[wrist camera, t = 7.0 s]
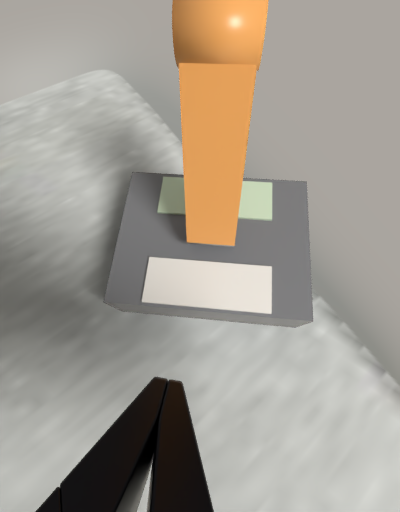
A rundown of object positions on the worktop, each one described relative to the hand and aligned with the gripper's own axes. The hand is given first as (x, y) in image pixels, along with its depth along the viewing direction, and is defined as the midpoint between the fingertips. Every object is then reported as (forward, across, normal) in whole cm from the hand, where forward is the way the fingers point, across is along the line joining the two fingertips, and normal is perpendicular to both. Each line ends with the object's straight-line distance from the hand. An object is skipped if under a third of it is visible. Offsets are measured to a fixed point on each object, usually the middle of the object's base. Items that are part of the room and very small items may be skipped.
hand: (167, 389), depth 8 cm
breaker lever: (+11, -1, -1) cm, 11 cm away
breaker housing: (+14, -1, +2) cm, 14 cm away
